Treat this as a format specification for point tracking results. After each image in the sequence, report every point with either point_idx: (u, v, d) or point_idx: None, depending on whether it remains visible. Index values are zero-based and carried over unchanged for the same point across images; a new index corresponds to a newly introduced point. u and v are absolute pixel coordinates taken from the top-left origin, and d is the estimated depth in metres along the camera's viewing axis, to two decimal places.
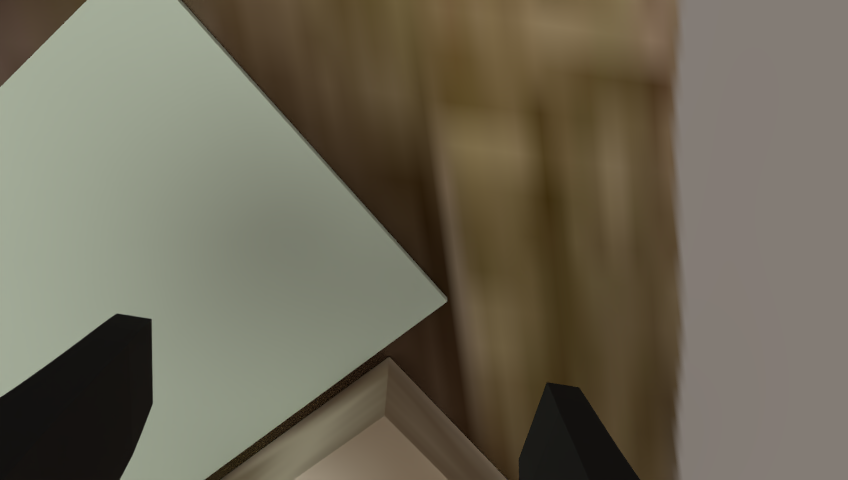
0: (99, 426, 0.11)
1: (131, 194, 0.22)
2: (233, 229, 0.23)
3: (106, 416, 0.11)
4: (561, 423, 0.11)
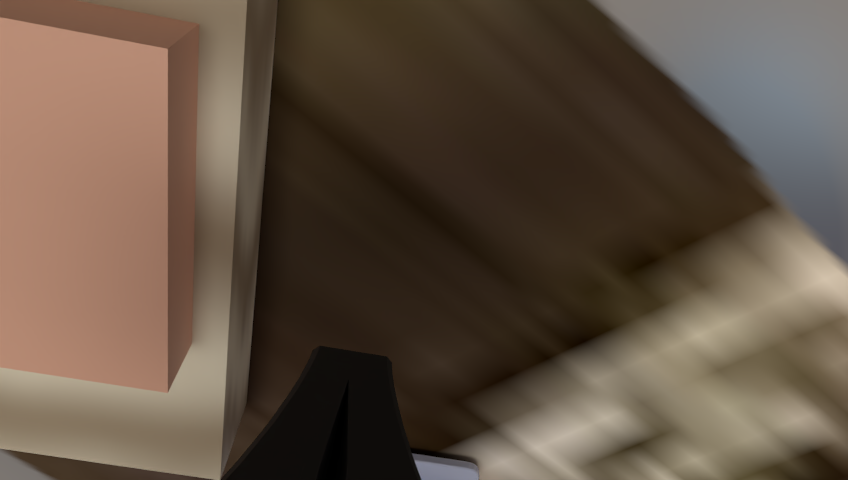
0: (328, 460, 0.11)
1: None
2: None
3: (331, 450, 0.11)
4: (347, 390, 0.11)
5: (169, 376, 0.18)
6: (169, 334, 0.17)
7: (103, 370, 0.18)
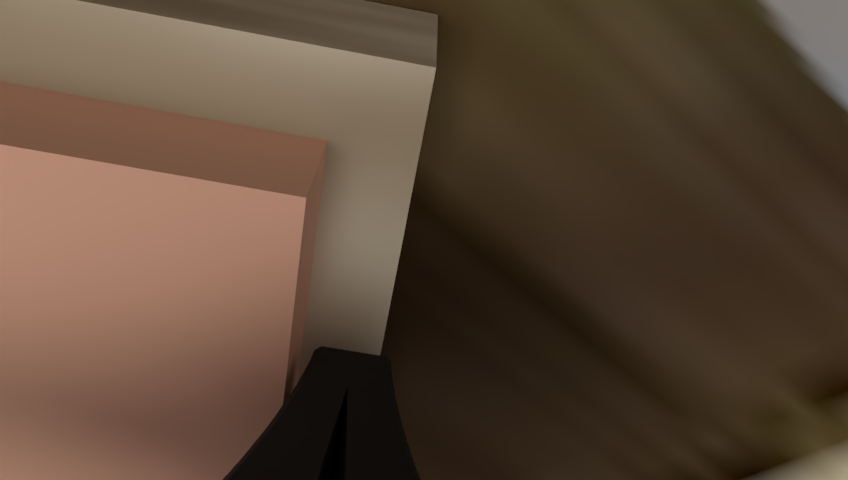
0: (330, 461, 0.11)
1: None
2: None
3: (333, 450, 0.11)
4: (346, 390, 0.11)
5: None
6: None
7: None
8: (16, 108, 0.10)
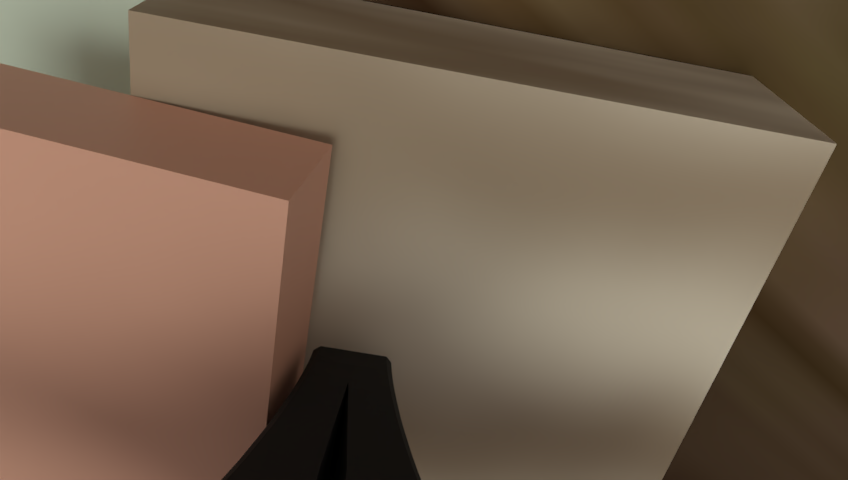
0: (329, 461, 0.11)
1: None
2: None
3: (332, 450, 0.11)
4: (347, 389, 0.11)
5: None
6: None
7: None
8: (26, 94, 0.10)
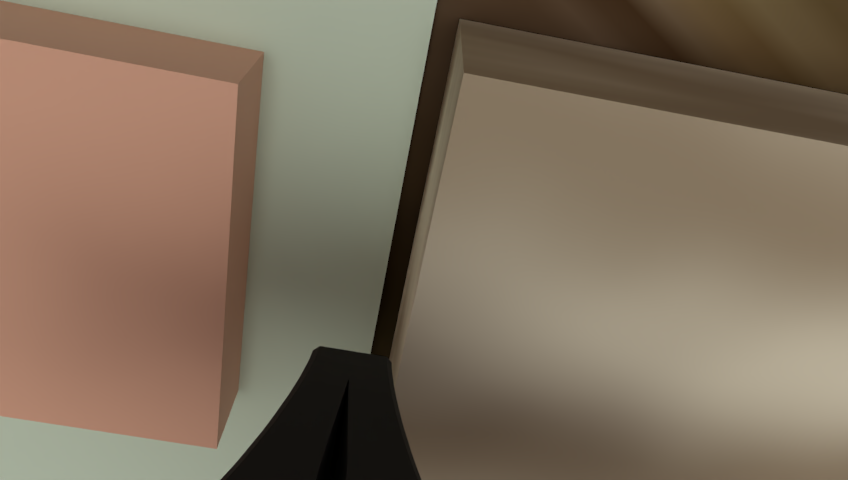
0: (328, 460, 0.11)
1: None
2: None
3: (331, 450, 0.11)
4: (347, 390, 0.11)
5: None
6: None
7: None
8: (161, 52, 0.13)
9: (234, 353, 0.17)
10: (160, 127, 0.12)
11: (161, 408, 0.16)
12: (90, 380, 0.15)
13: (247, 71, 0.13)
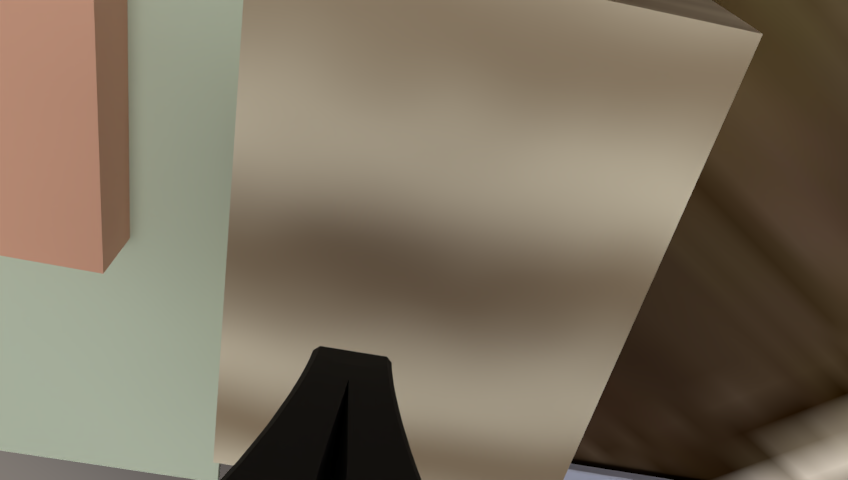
0: (329, 460, 0.11)
1: None
2: None
3: (332, 450, 0.11)
4: (347, 390, 0.11)
5: None
6: None
7: None
8: None
9: (118, 195, 0.20)
10: None
11: (54, 234, 0.19)
12: None
13: None
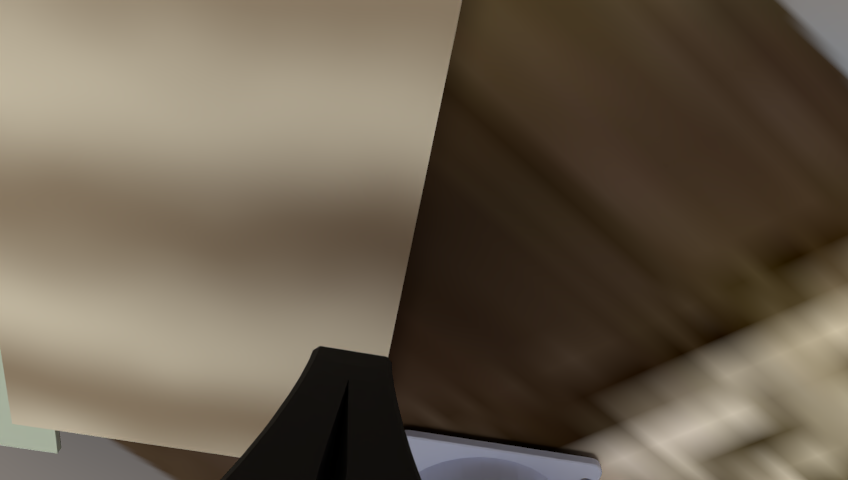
0: (329, 461, 0.11)
1: None
2: None
3: (331, 450, 0.11)
4: (347, 390, 0.11)
5: None
6: None
7: None
8: None
9: None
10: None
11: None
12: None
13: None
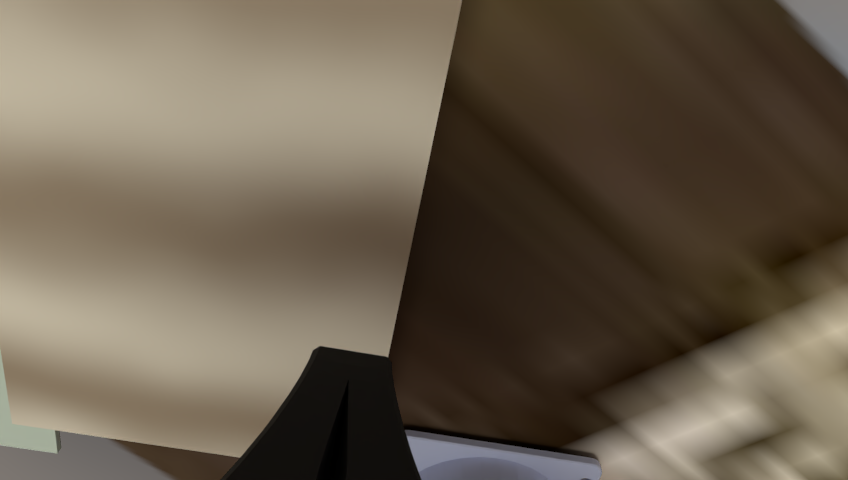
0: (329, 461, 0.11)
1: None
2: None
3: (331, 450, 0.11)
4: (347, 390, 0.11)
5: None
6: None
7: None
8: None
9: None
10: None
11: None
12: None
13: None
